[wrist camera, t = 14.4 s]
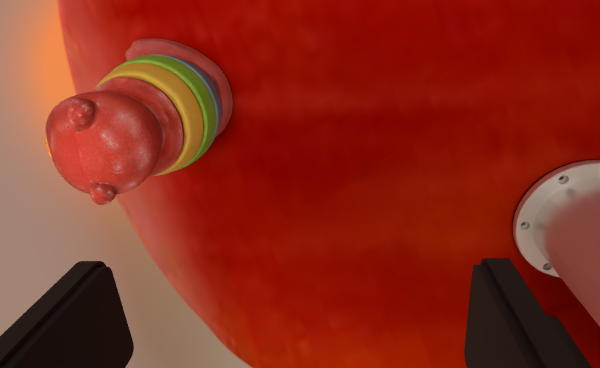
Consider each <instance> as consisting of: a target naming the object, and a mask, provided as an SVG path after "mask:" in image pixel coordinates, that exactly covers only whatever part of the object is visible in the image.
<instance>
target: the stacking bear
mask: <svg viewBox="0 0 600 368" xmlns="http://www.w3.org/2000/svg"><path fill="white" fill-rule="evenodd" d="M125 55H126V60H127V61H126V62H125V63H123V64H121V65H119V66H118V67H116V68H115V69H114V70H112V71H111V72H110V73H109V74H108V75H107V76H106V77H104V78H103V79H102V80H101V81H100V82H99V83H98V85H97V86H96V87H95V89H94V90H93V92H88V93H83V94H79V95H75V96H73V97H70V98H68V99H66V100H64V101H62V102H60V103H59V104H58V105H57V106H55V108H54V109H53V110H52V111H51V113H50V115H49V117H48V120H47V122H46V131H45V141H46V147H47V150H48V152H49V154H50V156H51V158H52V159H53V162H54V164H55V166H56V168H57V170H58V172H59V173H60V174H61V175H62V177H63V178H64V179H65V180H66V181H67V182H68V183H69V184H70V185H72V186H73V187H74V188H76V189H78V190H80V191H82V192H84V193H88V194H90V196H91V198H92V200H93V201H94V202H95V203H97V204H99V205H104V204H107V203H109V202H111V201H112V200H113V199H114V198H115V196H116V194H120V193H124V192H127V191H129V190H131V189H133V188H135V187H137V186H138V185H140V184H141V183H142V182H143V181H145V179H146V178H147V177H149V176H158V175H163V174H167V173H170V172H173V171H176V170H179V169H181V168H184V167H186V166H188V165H190V164H191V163H193V162H194V161H196V160H197V159H199V158H200V157H201V156H202V155H203V154H204V153H205V152H206V151H207V150H208V148H209V147H210V145H211V144H212V142H213V140H214V139H215V137H216V136H218V135H219V134H220V133H221V132H222V131H223V130H224V129H225V127H226V126H227V124H228V122H229V120H230V117H231V114H232V108H233V97H232V92H231V88H230V85H229V82H228V80H227V78H226V77H225V75H224V73H223V72H222V71H221V69H220V68H219V67H218V66H217V65H216V64H215V63H214V62H213V61H211V60H210V59H209V58H207V57H206V56H205V55H203V54H202V53H200V52H198V51H197V50H195V49H193V48H191V47H189V46H186V45H184V44H181V43H178V42H175V41H171V40H166V39H159V38H143V39H138V40H136V41H134V42H133V43H132V45H131V47H130V48H129V49H128V50H127V51H126V54H125Z"/></svg>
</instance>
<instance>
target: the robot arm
mask: <svg viewBox="0 0 600 368" xmlns="http://www.w3.org/2000/svg"><path fill="white" fill-rule="evenodd" d="M560 177H561V178H560ZM513 236H514V240H515V243H516V245H517V247H518V249H519V251H520V253H521V254H522V255H523V256H524V258H525V259H526V260H527V262H529V263H530V264H531V265H532V266H533V267H534V268H536V269H538V270H539V271H541V272H543V273H545V274H549V275H552V276H555V277H560V278H561V279H562V280H563V281H564V282H565V284H566V285H567V286H568V288H569V289H570V290H571V291H572V293H573V294H574V295H575V296H576V298H577V299H578V300H579V301H580V303H581V304H582V305H583V306H584V308H585V309H586V310H587V311H588V313H589V314H590V315H591V316H592V318H593V319H594V320H595V322H596V323H597V324H598V325H599V327H600V160H586V161H581V162H576V163H572V164H569V165H566V166H563V167H560V168H558V169H556V170H554V171H553V172H551V173H549V174H547V175H545V176H544V177H543V178H542V179H540V180H539V181H538V182H536V183H535V184H534V185H533V186H532V187H531V188H530V189H529V190H528V191H527V192H526V194H525V195H524V197H523V198H522V200H521V201H520V203H519V205H518V207H517V210H516V212H515V216H514V221H513ZM133 348H134V347H133V341H132V337H131V334H130V330H129V327H128V324H127V320H126V317H125V314H124V311H123V307H122V303H121V300H120V297H119V293H118V290H117V287H116V284H115V280H114V277H113V273H112V271H111V269H110V268H109V267H106V265H105V264H104V263H103V262H101V261H81V262H78V263H77V264H75V265H74V266H73V267H72V268H71V269H70V270H69V271H68V272H67V273H66V274H65V275H64V276H63V277H62V278H61V279H60V280H59V281H58V282H57V283H55V284H54V285H53V286H52V287H51V288H50V289H49V290H48V291H47V292H46V293H45V294H44V295H43V296H42V297H41V298H40V299H39V300H38V301H37V302H36V303H35V304H34V305H32V306H31V307H30V308H29V309H28V310H27V311H26V312H25V313H24V314H23V315H22V316H21V317H20V318H19V319H18V320H17V321H16V322H15V323H14V324H13V325H12V326H11V327H10V328H8V330H6V331H5V332H4V333H3V334H2V335H1V336H0V368H125V367H126V365H127V364H128V362H129V360H130V359H131V357H132V354H133ZM464 352H465V361H466V365H467V368H592V367H591V366H590V364H589V363H588V361H587V360H586V359H585V357H584V356H583V354H582V353H581V351H580V350H579V348H578V347H577V345H576V344H575V342H574V341H573V339H572V338H571V337H570V335H569V334H568V332H567V331H566V329H565V328H564V326H563V325H562V323H561V322H560V321H559V320H558V319H557V317H555V316H553V315H546V314H545V313H544V311H543V309H542V308H541V306H540V305H539V303H538V302H537V300H536V299H535V297H534V296H533V294H532V293H531V291H530V289H529V288H528V286H527V285H526V283H525V282H524V280H523V279H522V277H521V276H520V274H519V273H518V271H517V269H516V268H515V266H514V265H513V263H512V262H511V261H510V259H508V258H484V259H482V261H481V265H474V267H473V272H472V282H471V291H470V301H469V311H468V320H467V330H466V340H465V351H464Z"/></svg>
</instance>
